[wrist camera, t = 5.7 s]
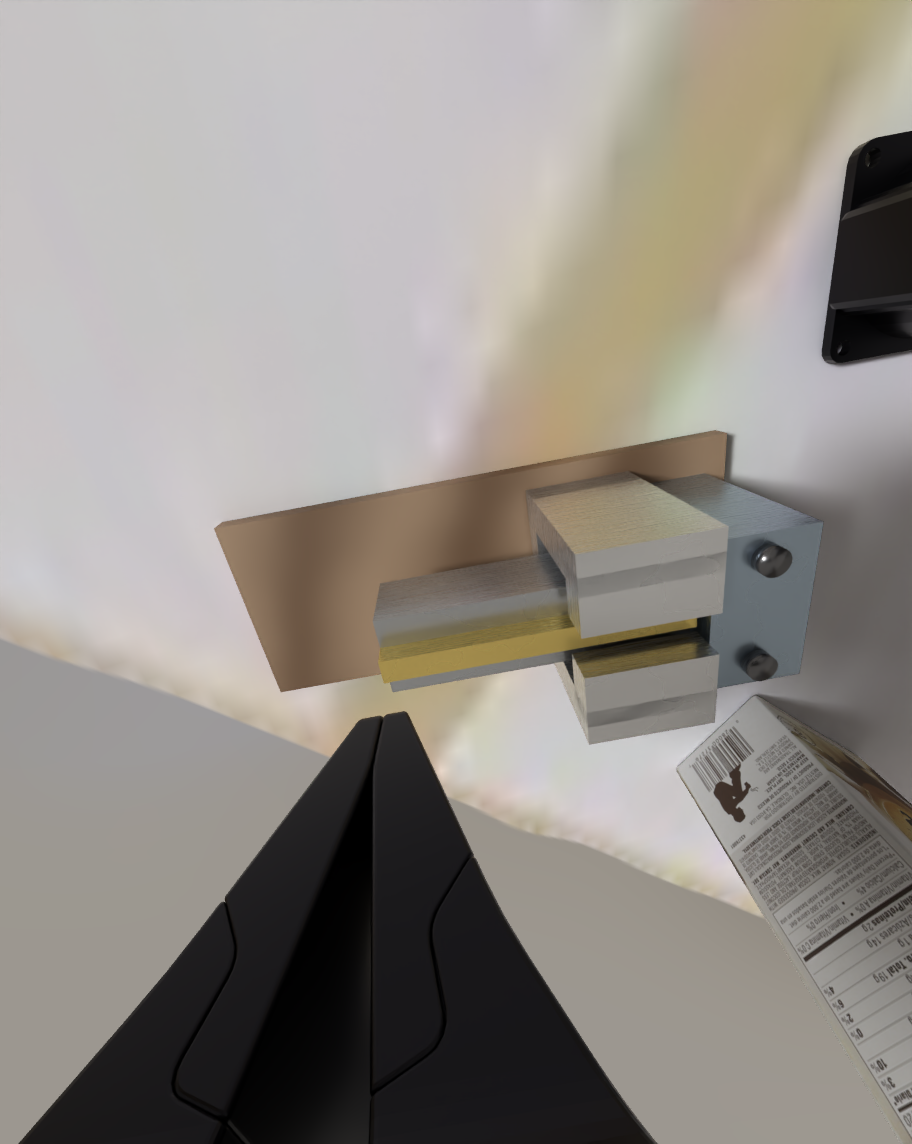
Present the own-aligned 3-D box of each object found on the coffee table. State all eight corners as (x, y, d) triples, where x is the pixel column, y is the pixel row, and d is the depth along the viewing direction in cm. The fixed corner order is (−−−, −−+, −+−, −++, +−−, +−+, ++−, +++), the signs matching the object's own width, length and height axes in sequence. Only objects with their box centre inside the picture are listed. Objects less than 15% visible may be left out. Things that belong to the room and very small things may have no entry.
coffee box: (863, 753, 27) (1396, 1232, 12) (777, 823, 29) (1144, 1307, 14) (754, 688, 24) (1256, 1189, 10) (669, 770, 26) (978, 1286, 12)
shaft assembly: (405, 642, 21) (398, 754, 15) (377, 533, 19) (356, 613, 13) (698, 589, 21) (808, 681, 15) (704, 473, 19) (834, 526, 13)
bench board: (715, 430, 19) (726, 433, 18) (705, 605, 22) (715, 613, 21) (221, 522, 19) (214, 528, 18) (285, 681, 22) (281, 692, 22)
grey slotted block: (541, 634, 21) (589, 744, 15) (525, 490, 18) (575, 554, 12) (631, 618, 21) (714, 722, 15) (628, 471, 18) (728, 526, 12)
